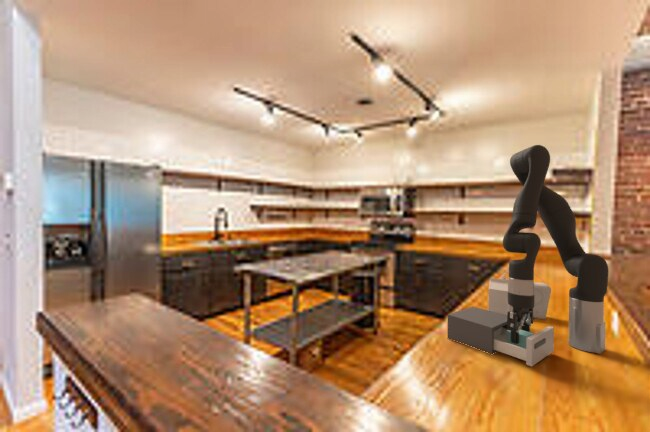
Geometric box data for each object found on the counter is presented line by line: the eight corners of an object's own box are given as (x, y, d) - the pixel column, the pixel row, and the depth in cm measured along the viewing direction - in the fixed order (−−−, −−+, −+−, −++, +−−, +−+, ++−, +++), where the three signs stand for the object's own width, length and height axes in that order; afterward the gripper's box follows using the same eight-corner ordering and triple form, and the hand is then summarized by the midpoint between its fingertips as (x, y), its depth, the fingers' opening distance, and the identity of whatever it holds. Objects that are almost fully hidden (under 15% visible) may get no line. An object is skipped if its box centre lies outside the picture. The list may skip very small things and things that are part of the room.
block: (533, 348, 98) (533, 333, 98) (527, 352, 95) (527, 336, 95) (513, 341, 103) (513, 327, 103) (506, 345, 100) (507, 330, 100)
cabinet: (515, 342, 108) (515, 317, 108) (491, 354, 98) (491, 327, 98) (472, 328, 121) (472, 306, 121) (447, 338, 111) (447, 314, 111)
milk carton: (507, 327, 123) (507, 281, 123) (488, 323, 128) (488, 279, 128) (509, 322, 129) (509, 278, 129) (490, 318, 133) (491, 276, 133)
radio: (494, 313, 140) (495, 261, 140) (494, 309, 148) (494, 259, 148) (552, 321, 130) (552, 265, 130) (548, 316, 138) (548, 262, 138)
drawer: (554, 351, 99) (554, 327, 99) (532, 366, 88) (532, 340, 88) (502, 335, 112) (502, 314, 112) (478, 346, 102) (478, 323, 102)
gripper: (524, 297, 92) (523, 349, 92) (542, 291, 100) (541, 338, 100) (498, 292, 98) (498, 341, 98) (517, 286, 106) (517, 331, 106)
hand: (520, 339), depth 99 cm, fingers open, 8 cm apart
